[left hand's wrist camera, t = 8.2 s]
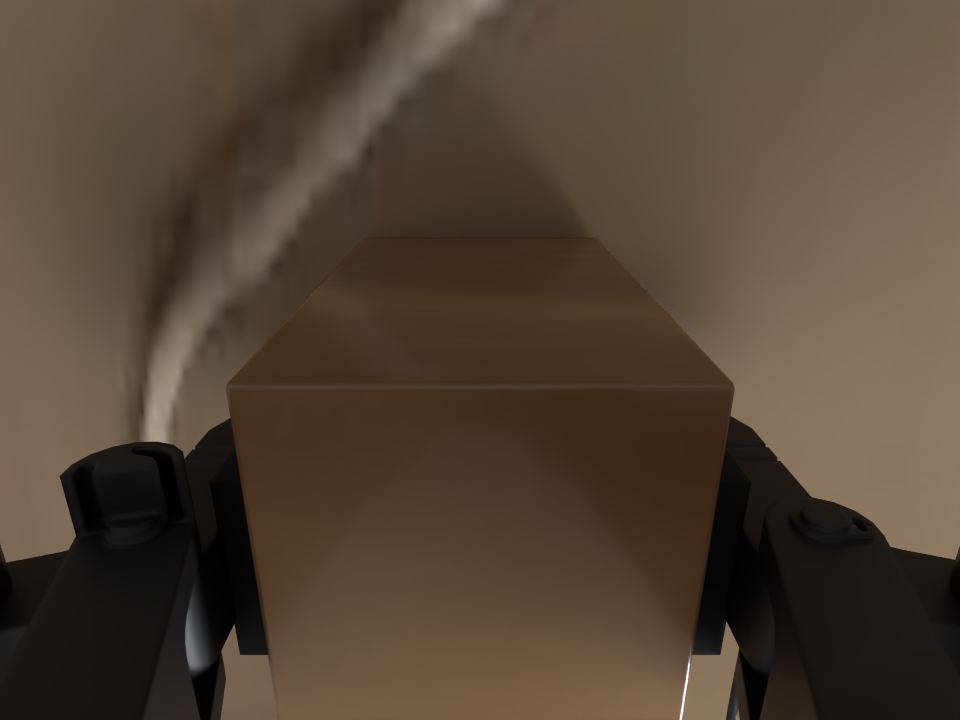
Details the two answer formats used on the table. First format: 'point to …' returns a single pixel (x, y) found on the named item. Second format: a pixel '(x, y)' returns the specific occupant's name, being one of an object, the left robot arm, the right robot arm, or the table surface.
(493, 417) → the bar
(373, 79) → the table surface
